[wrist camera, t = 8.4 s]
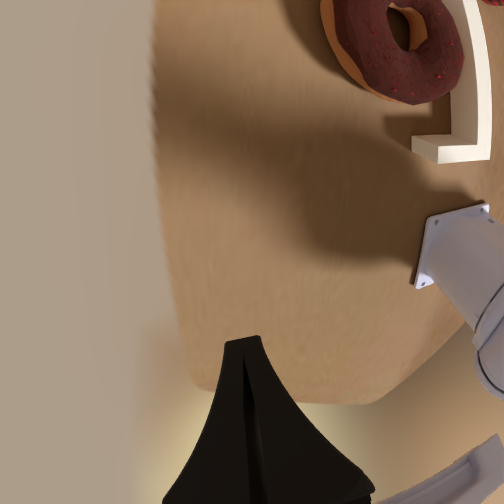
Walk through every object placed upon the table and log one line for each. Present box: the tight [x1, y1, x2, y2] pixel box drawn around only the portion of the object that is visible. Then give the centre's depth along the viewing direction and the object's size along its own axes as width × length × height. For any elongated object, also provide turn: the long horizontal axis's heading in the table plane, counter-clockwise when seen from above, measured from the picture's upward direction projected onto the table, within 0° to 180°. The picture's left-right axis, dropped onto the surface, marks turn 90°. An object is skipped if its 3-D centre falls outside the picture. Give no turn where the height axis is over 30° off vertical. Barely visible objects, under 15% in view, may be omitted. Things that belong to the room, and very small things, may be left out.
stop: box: [411, 0, 492, 164], centre depth 11 cm, size 6×16×3 cm, turn 11°
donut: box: [320, 0, 465, 105], centre depth 10 cm, size 10×10×4 cm
